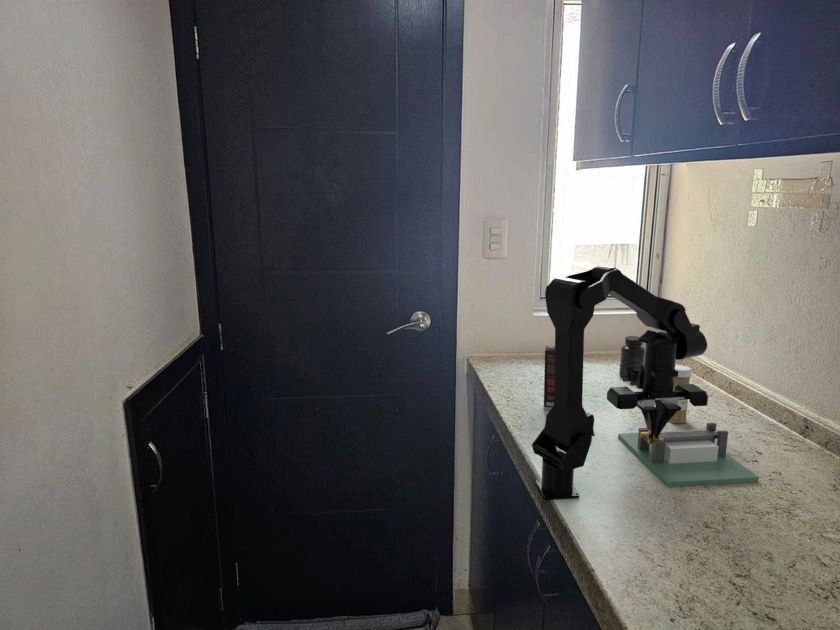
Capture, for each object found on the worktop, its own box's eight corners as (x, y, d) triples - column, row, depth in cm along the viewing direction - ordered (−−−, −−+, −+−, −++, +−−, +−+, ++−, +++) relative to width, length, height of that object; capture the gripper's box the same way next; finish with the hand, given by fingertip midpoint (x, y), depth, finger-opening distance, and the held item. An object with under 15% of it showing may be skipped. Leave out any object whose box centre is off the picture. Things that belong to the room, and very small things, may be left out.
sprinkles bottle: (686, 425, 135) (691, 371, 133) (665, 422, 137) (670, 368, 134) (686, 418, 140) (691, 365, 137) (665, 415, 141) (670, 363, 138)
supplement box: (577, 406, 148) (580, 347, 145) (577, 413, 144) (580, 352, 140) (543, 403, 150) (545, 345, 147) (542, 410, 146) (544, 349, 142)
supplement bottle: (614, 375, 172) (616, 336, 170) (631, 371, 175) (633, 333, 173) (631, 381, 166) (633, 341, 164) (648, 378, 169) (651, 339, 167)
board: (758, 481, 109) (762, 450, 108) (667, 487, 108) (670, 455, 106) (694, 434, 131) (697, 407, 129) (618, 437, 129) (619, 410, 128)
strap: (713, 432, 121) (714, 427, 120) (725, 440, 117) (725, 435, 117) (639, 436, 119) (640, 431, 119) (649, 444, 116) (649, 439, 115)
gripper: (682, 350, 123) (676, 418, 126) (598, 353, 121) (594, 422, 124) (713, 365, 112) (705, 440, 115) (621, 369, 110) (615, 444, 114)
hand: (653, 435), depth 117 cm, fingers closed, pressing on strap
